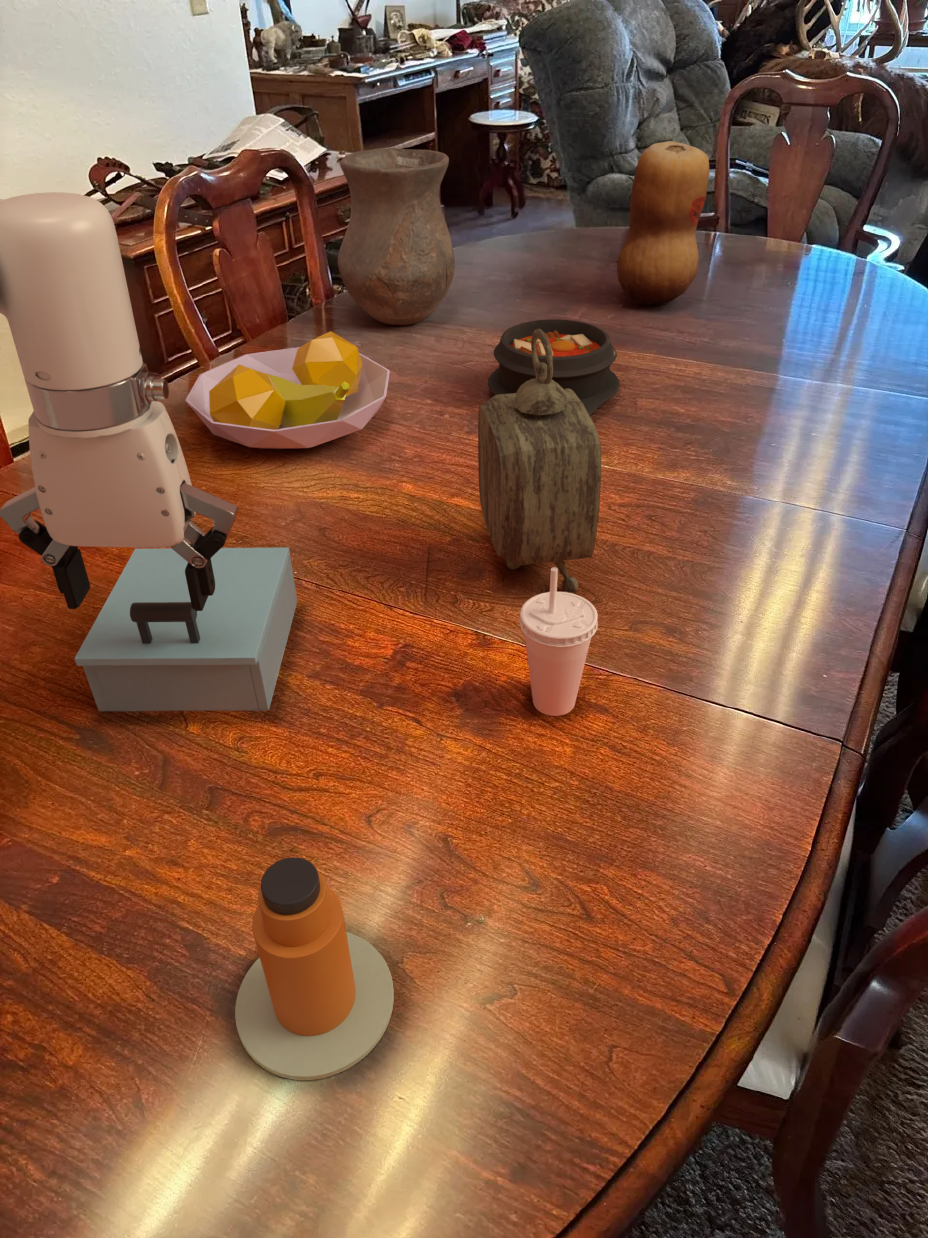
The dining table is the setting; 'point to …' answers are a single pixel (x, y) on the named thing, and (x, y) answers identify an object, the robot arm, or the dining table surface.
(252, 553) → the lid
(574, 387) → the casserole
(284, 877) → the bottle
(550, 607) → the smoothie
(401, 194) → the vase
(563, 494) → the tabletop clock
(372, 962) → the coaster
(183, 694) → the grey-blue rectangular box
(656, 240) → the butternut squash
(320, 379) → the fruit bowl
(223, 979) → the dining table surface
